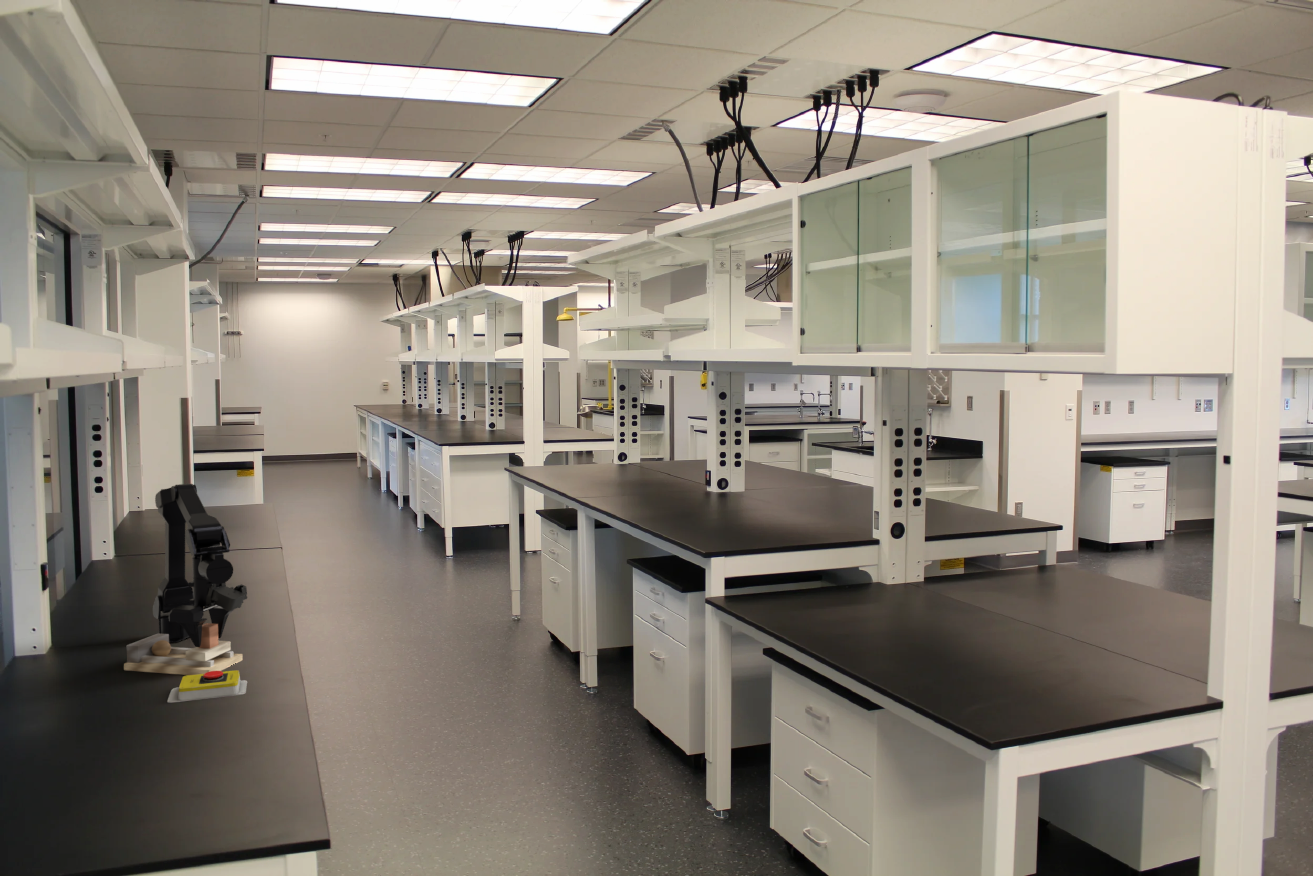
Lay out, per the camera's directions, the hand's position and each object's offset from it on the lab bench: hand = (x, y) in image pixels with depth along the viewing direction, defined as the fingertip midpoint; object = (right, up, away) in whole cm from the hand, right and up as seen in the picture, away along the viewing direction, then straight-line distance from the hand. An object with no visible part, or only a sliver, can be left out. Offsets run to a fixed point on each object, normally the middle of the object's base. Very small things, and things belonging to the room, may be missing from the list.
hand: (208, 642), depth 212 cm
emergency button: (+8, -8, -16) cm, 19 cm away
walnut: (-12, -4, +3) cm, 13 cm away
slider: (0, -3, 0) cm, 3 cm away
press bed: (-6, -6, +2) cm, 9 cm away
